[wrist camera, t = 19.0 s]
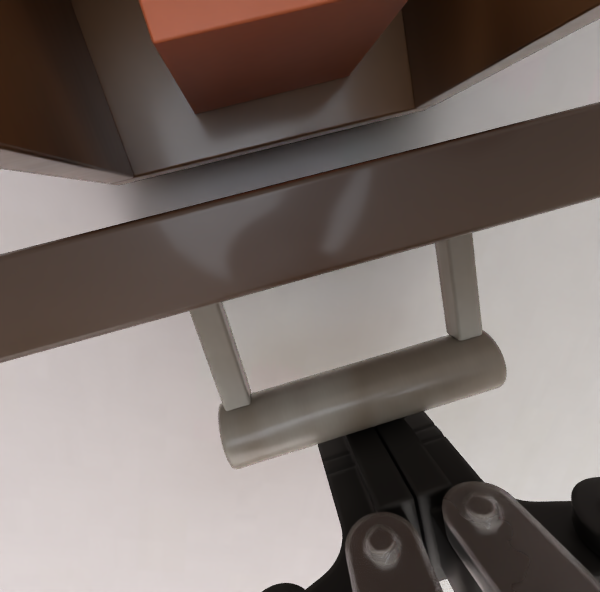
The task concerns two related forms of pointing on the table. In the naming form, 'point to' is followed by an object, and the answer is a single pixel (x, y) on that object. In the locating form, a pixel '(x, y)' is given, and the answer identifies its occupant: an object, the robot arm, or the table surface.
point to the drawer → (279, 198)
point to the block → (261, 44)
